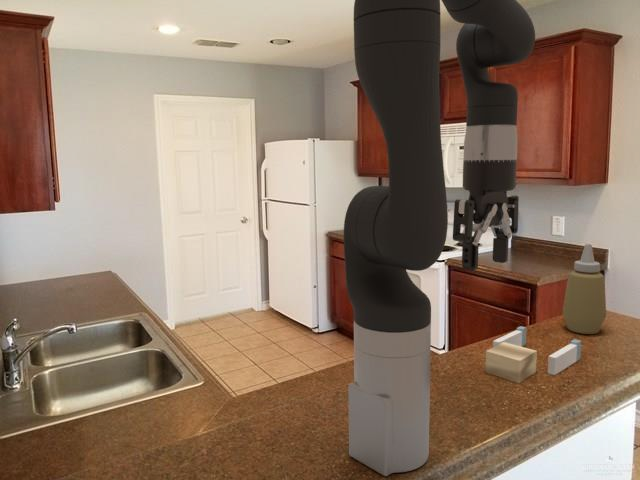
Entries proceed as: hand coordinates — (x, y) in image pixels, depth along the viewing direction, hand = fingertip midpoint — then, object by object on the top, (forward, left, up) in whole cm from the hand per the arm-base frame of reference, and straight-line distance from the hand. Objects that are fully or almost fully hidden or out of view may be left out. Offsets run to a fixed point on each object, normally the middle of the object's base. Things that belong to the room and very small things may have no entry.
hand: (485, 265), depth 80 cm
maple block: (+9, 0, -20) cm, 22 cm away
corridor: (+18, 0, -20) cm, 27 cm away
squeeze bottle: (+39, 0, -20) cm, 44 cm away
